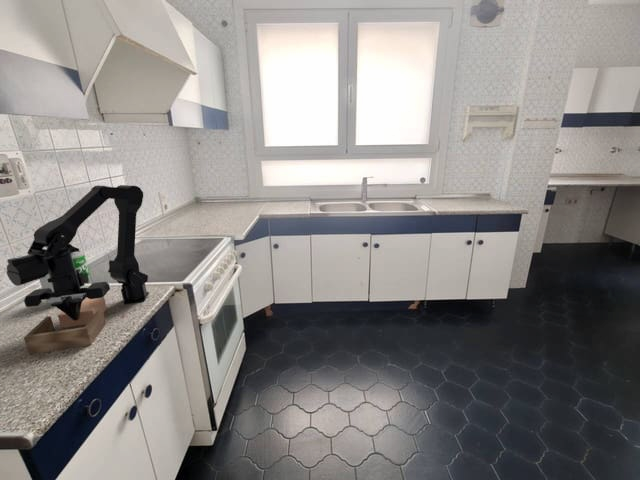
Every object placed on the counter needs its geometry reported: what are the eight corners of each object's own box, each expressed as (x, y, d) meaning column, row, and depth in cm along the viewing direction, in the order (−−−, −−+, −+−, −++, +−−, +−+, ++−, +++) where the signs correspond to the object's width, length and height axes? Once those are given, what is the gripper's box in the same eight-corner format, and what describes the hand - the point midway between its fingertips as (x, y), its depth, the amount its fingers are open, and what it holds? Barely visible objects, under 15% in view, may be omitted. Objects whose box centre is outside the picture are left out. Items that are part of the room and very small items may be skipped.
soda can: (64, 286, 119) (55, 257, 115) (70, 279, 125) (62, 251, 121) (87, 282, 121) (80, 254, 118) (92, 275, 128) (85, 248, 124)
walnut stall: (106, 323, 93) (102, 309, 91) (91, 344, 83) (86, 328, 82) (51, 331, 89) (46, 316, 88) (29, 354, 80) (23, 337, 78)
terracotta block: (107, 309, 102) (103, 296, 101) (96, 323, 94) (92, 310, 92) (75, 313, 100) (71, 301, 98) (61, 328, 91) (57, 315, 90)
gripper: (110, 257, 95) (121, 302, 100) (39, 264, 91) (54, 311, 95) (95, 270, 85) (108, 320, 90) (14, 279, 80) (32, 331, 85)
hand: (76, 319), depth 90 cm, fingers closed
